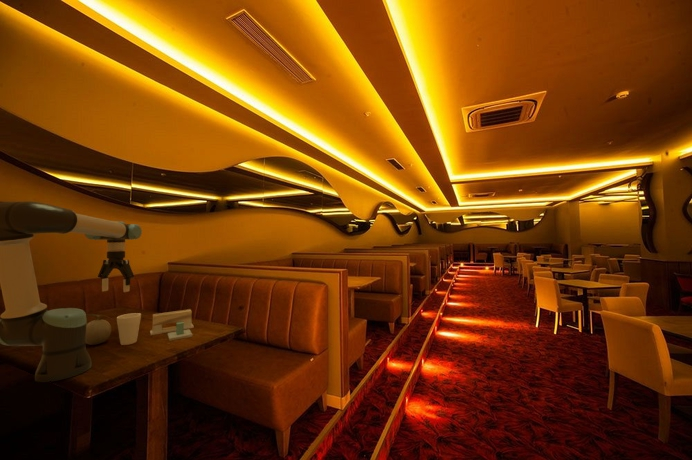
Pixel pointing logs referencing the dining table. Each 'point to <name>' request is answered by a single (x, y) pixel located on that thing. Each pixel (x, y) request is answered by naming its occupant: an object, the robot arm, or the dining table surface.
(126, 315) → the foam cup
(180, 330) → the fulcrum
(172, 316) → the bar
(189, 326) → the beige bracket
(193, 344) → the dining table surface
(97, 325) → the fruit
